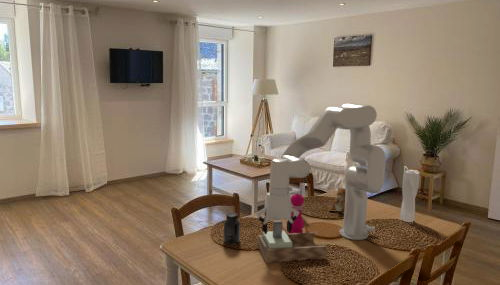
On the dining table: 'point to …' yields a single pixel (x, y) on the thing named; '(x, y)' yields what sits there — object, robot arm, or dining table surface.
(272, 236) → the base with upright peg
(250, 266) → the dining table surface
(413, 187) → the skyscraper
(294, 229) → the pepper mill
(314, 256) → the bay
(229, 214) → the supplement bottle
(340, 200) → the stuffed squirrel
